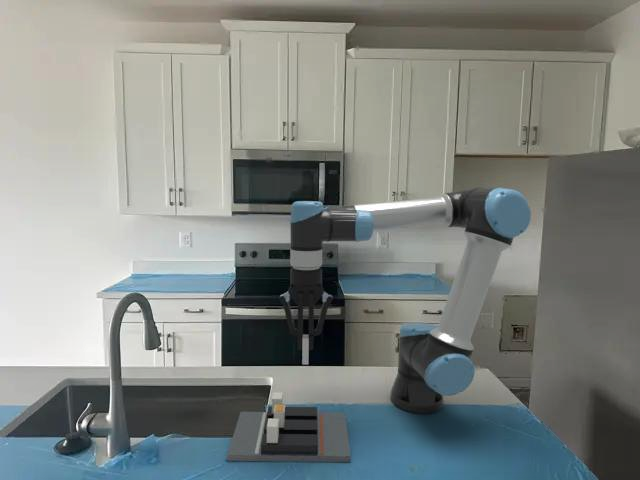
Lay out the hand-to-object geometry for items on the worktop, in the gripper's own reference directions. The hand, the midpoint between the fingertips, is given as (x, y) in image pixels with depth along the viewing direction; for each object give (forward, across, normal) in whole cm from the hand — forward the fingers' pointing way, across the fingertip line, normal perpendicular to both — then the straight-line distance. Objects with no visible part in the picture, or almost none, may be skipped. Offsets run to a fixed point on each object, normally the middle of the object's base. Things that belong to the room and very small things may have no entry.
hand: (305, 362), depth 108 cm
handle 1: (+16, +7, -6) cm, 19 cm away
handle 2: (+16, +7, +7) cm, 19 cm away
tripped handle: (+16, +6, 0) cm, 17 cm away
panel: (+20, +3, 0) cm, 20 cm away
